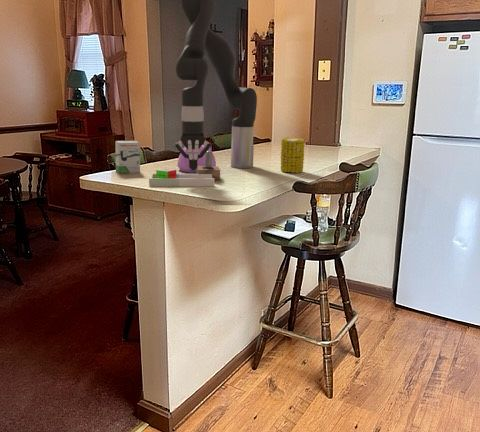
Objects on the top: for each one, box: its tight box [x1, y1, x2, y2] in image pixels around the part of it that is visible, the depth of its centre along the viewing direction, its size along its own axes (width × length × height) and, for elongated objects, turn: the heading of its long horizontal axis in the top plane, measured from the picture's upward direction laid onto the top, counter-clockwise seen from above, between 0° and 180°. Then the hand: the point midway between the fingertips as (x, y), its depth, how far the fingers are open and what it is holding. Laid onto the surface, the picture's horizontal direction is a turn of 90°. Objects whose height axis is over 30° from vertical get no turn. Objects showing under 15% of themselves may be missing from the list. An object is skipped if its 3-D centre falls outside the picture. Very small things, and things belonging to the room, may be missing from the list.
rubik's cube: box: [155, 167, 177, 178], centre depth 163 cm, size 5×5×5 cm
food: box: [280, 136, 305, 174], centre depth 194 cm, size 15×12×10 cm
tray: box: [148, 173, 180, 187], centre depth 164 cm, size 10×10×2 cm
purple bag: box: [177, 144, 217, 174], centre depth 191 cm, size 22×16×12 cm
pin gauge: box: [205, 150, 213, 169], centre depth 174 cm, size 2×2×10 cm
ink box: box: [115, 140, 141, 174], centre depth 183 cm, size 9×5×12 cm, turn 117°
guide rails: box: [177, 173, 215, 187], centre depth 166 cm, size 12×10×2 cm
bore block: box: [196, 165, 221, 182], centre depth 175 cm, size 8×8×4 cm
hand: (193, 169), depth 166 cm, fingers closed
